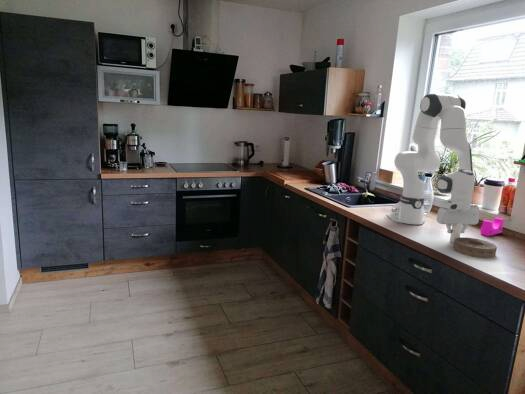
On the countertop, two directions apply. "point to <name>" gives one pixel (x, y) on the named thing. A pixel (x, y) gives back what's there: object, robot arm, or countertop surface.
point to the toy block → (492, 227)
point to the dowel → (455, 232)
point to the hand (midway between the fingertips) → (455, 233)
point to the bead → (475, 247)
